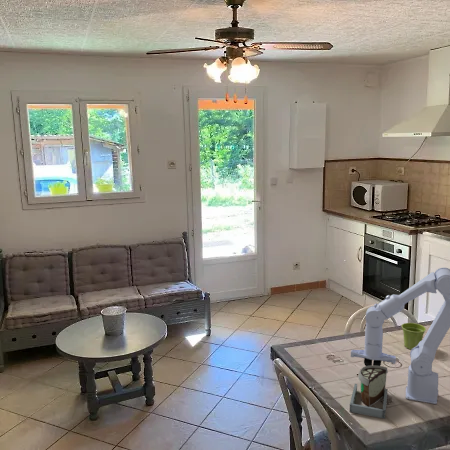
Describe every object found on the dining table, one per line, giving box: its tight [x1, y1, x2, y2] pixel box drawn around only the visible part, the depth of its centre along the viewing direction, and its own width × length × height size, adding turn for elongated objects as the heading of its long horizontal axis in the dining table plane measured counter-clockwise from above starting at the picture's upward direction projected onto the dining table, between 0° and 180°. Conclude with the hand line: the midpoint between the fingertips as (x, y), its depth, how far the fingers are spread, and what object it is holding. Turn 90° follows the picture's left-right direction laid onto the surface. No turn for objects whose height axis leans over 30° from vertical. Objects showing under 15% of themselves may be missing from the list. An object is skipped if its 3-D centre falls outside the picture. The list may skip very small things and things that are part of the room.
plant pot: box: [401, 322, 427, 351], centre depth 190 cm, size 9×9×9 cm
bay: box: [349, 383, 388, 419], centre depth 150 cm, size 11×14×2 cm
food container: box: [357, 364, 389, 407], centre depth 153 cm, size 12×6×10 cm, turn 132°
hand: (371, 378), depth 159 cm, fingers closed
